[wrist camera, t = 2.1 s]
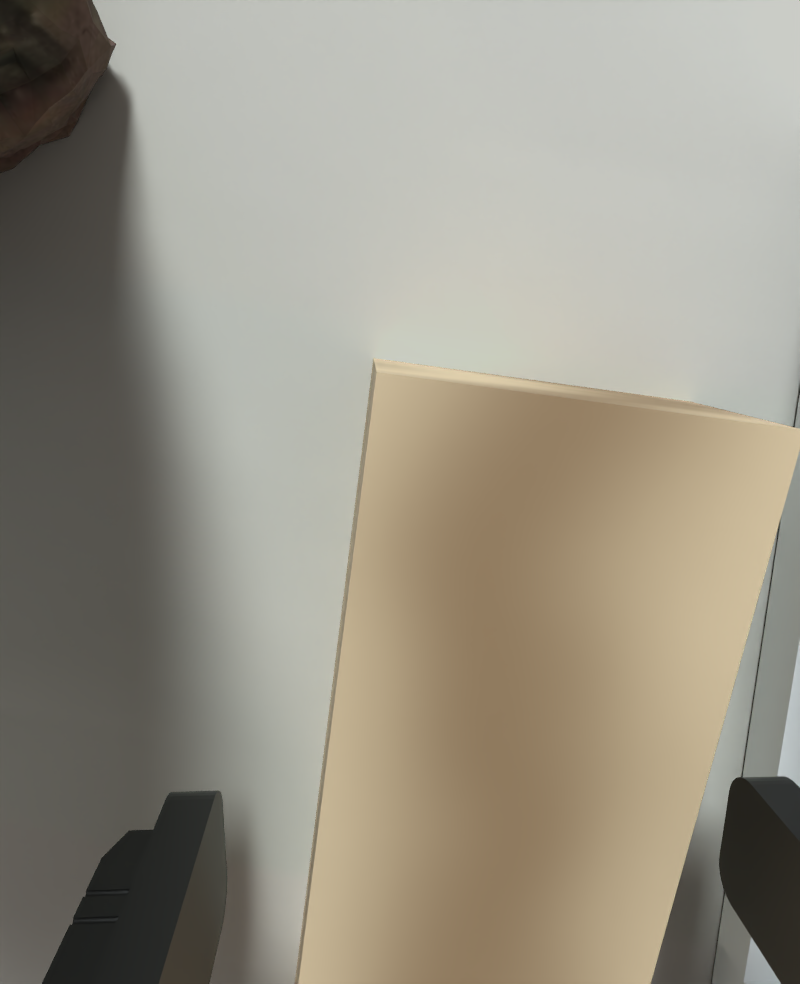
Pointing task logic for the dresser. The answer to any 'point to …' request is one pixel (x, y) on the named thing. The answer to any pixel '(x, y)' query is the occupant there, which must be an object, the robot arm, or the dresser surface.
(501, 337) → the dresser surface
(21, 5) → the statue
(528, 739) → the shelf board
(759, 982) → the cabinet bay
